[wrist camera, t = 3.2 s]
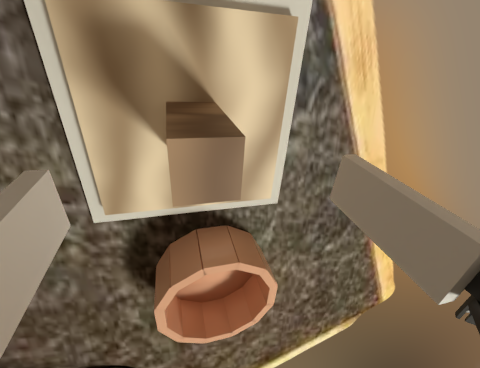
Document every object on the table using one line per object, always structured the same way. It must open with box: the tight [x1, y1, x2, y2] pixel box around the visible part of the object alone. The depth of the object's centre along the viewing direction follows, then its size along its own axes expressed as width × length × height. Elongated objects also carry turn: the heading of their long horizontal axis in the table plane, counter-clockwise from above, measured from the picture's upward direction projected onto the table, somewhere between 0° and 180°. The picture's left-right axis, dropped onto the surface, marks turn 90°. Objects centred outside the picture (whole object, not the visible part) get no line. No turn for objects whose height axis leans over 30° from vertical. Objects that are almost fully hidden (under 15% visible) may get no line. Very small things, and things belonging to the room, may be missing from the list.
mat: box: [24, 0, 312, 223], centre depth 21 cm, size 20×20×1 cm
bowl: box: [154, 225, 278, 343], centre depth 29 cm, size 14×14×6 cm
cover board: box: [45, 0, 298, 215], centre depth 17 cm, size 17×17×10 cm
